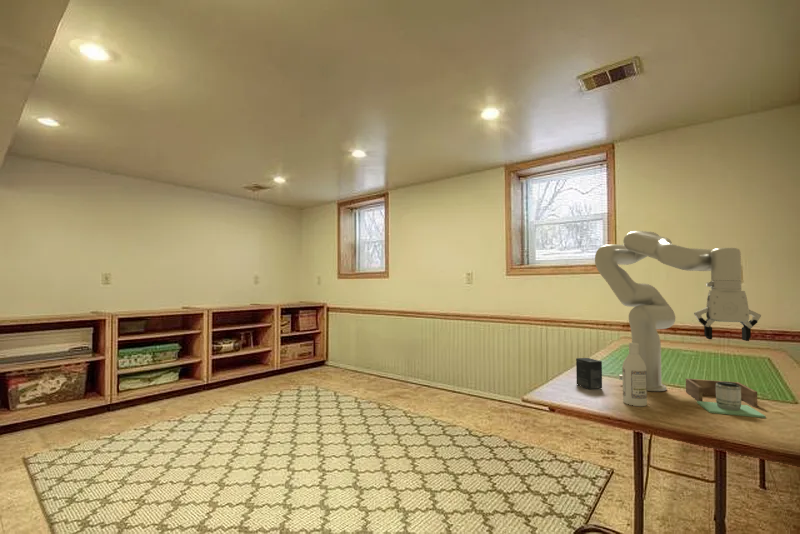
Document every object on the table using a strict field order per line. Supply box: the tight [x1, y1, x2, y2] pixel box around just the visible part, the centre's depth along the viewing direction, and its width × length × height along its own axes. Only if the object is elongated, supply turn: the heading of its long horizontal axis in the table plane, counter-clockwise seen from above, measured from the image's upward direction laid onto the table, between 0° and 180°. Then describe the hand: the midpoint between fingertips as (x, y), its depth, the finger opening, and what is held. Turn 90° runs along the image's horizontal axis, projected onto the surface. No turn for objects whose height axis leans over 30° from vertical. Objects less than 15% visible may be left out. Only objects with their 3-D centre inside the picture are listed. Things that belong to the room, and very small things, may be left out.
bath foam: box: [621, 342, 648, 407], centre depth 134 cm, size 7×7×20 cm
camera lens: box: [715, 380, 742, 411], centre depth 128 cm, size 6×6×8 cm
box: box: [575, 357, 603, 390], centre depth 155 cm, size 8×6×11 cm
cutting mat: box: [696, 400, 767, 419], centre depth 128 cm, size 14×11×1 cm
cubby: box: [685, 378, 758, 408], centre depth 139 cm, size 16×13×5 cm
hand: (727, 339), depth 128 cm, fingers open, 9 cm apart
